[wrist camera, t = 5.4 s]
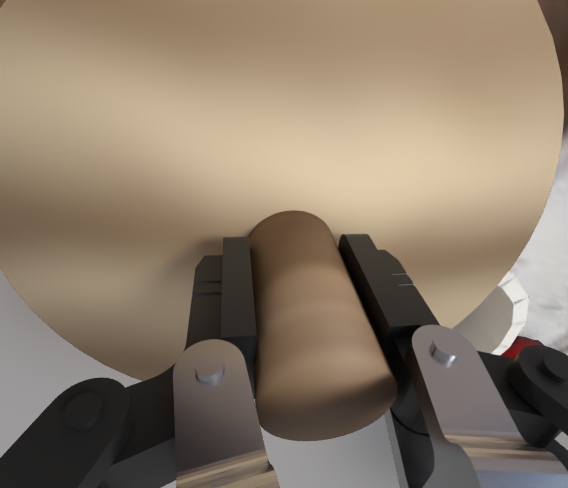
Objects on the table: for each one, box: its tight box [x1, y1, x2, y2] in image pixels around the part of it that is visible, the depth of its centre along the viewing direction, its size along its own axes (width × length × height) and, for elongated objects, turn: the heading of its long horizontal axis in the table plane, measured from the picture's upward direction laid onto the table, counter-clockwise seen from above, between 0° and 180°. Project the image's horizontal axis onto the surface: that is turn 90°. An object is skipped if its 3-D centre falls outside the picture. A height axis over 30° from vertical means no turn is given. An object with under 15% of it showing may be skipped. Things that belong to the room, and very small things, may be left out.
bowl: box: [452, 270, 529, 355], centre depth 31 cm, size 16×16×6 cm
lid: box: [0, 0, 564, 441], centre depth 9 cm, size 17×17×6 cm
